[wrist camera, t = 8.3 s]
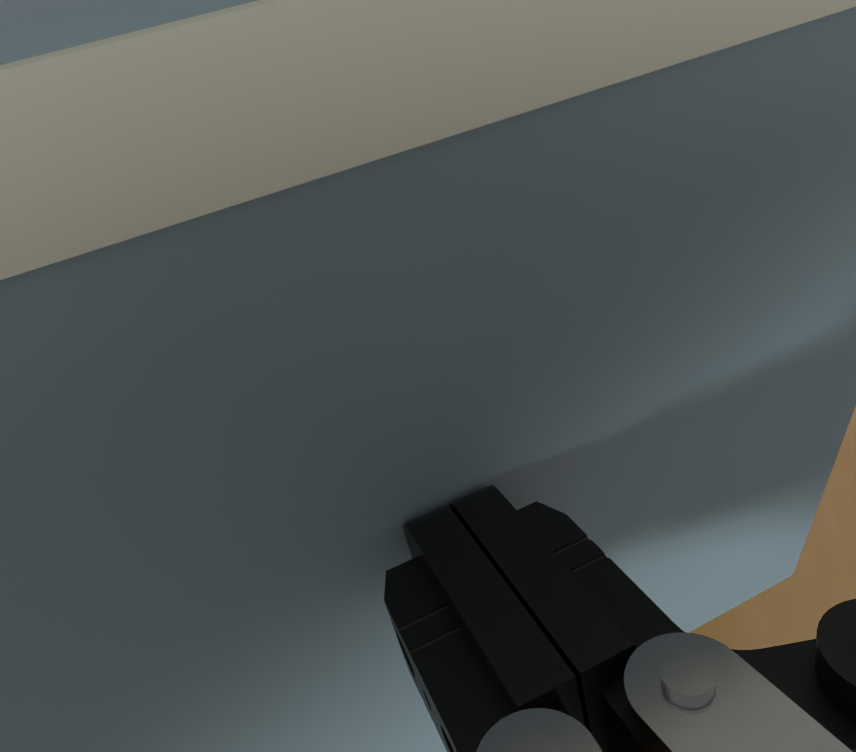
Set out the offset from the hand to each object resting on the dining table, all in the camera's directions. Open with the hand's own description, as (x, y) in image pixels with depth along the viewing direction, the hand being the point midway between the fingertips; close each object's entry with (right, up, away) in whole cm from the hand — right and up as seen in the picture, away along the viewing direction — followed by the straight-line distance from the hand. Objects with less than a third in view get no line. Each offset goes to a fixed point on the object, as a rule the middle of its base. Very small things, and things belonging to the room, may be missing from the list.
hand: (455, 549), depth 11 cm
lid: (-1, +1, +1) cm, 1 cm away
